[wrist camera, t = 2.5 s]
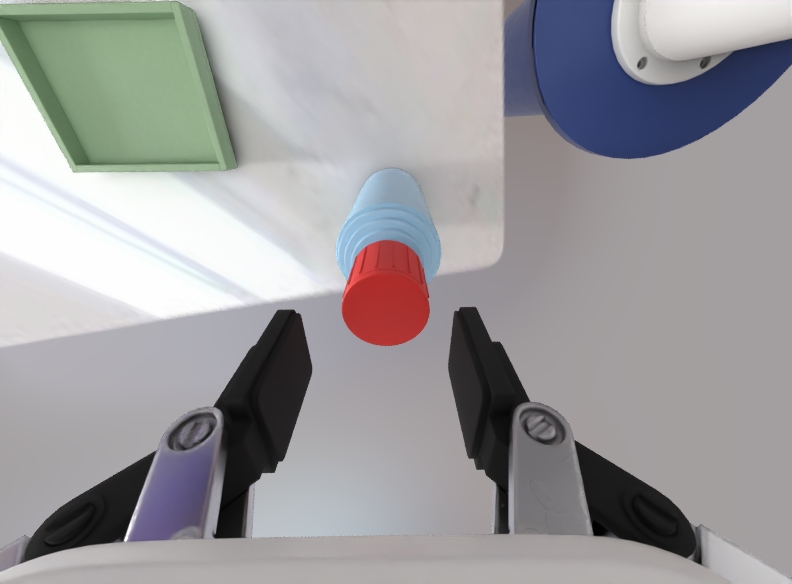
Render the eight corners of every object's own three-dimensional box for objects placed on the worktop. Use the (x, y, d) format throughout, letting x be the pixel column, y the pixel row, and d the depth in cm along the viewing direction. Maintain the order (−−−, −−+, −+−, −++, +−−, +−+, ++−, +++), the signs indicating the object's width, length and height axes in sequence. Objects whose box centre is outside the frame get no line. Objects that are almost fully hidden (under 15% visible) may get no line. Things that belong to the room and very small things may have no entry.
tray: (194, 10, 22) (177, 0, 20) (237, 167, 28) (227, 170, 26) (12, 13, 22) (-21, 3, 20) (92, 169, 28) (72, 172, 26)
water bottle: (423, 167, 28) (466, 236, 11) (421, 231, 31) (451, 359, 14) (358, 168, 28) (300, 238, 11) (362, 231, 31) (324, 360, 14)
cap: (424, 238, 14) (432, 272, 11) (421, 301, 16) (428, 346, 13) (349, 239, 14) (335, 273, 11) (355, 302, 16) (345, 347, 13)
